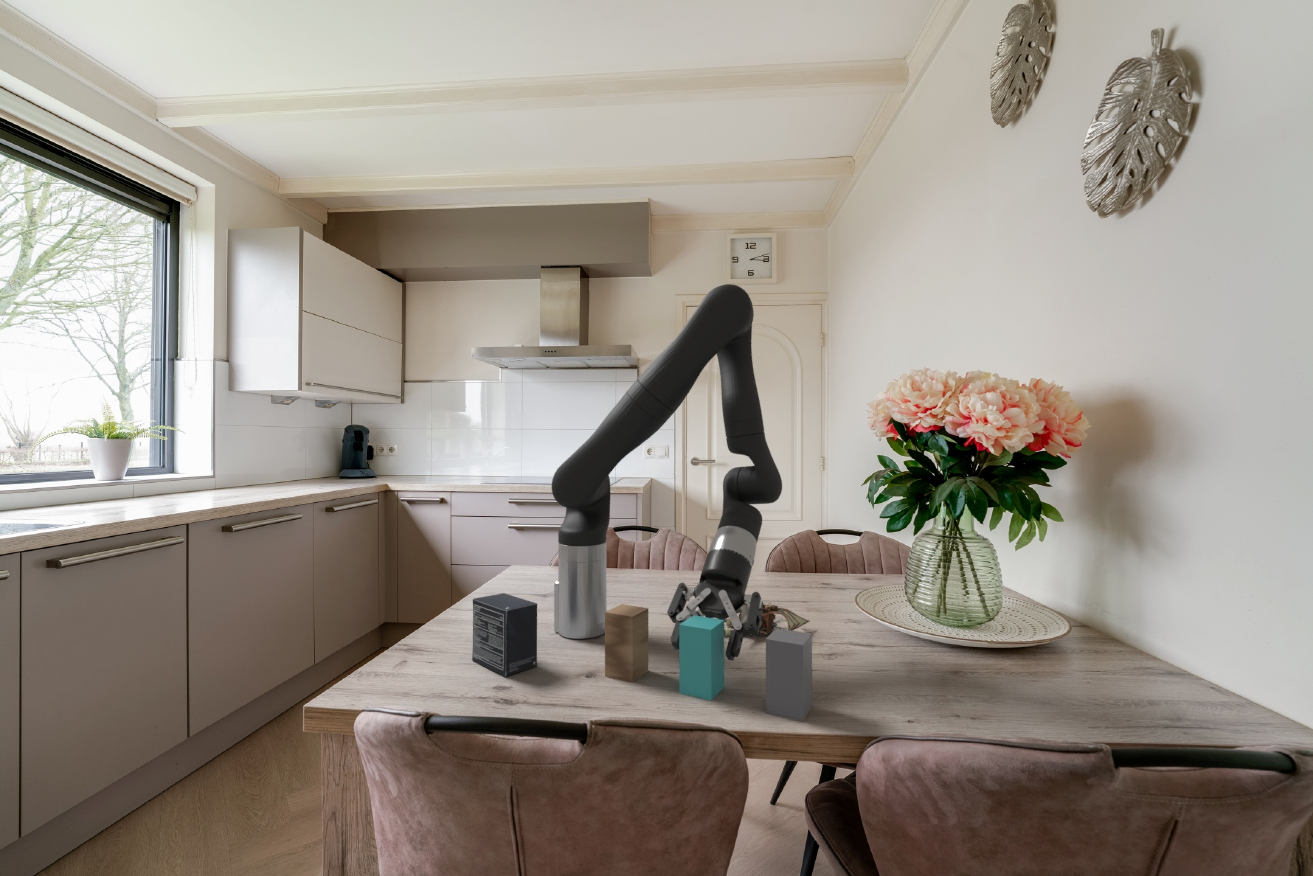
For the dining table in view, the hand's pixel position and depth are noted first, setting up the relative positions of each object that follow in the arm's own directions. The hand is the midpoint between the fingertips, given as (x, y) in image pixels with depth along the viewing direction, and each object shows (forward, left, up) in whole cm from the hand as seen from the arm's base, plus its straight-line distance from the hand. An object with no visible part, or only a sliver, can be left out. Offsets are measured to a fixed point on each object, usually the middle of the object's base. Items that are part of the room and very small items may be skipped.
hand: (702, 652), depth 84 cm
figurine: (0, +30, -6) cm, 31 cm away
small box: (-33, -6, -6) cm, 34 cm away
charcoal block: (+13, 0, -6) cm, 14 cm away
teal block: (0, 0, -6) cm, 6 cm away
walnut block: (-13, 0, -6) cm, 14 cm away
